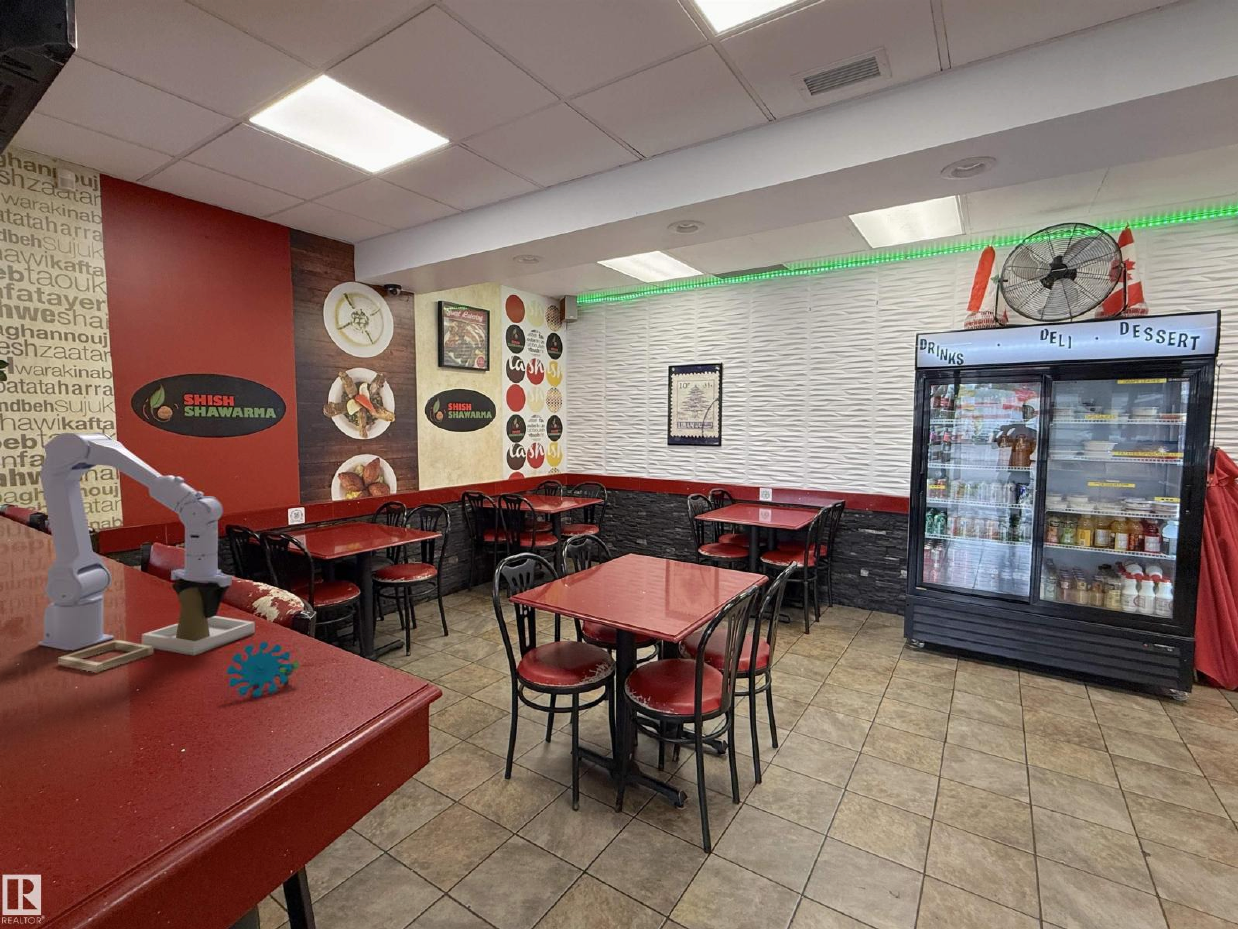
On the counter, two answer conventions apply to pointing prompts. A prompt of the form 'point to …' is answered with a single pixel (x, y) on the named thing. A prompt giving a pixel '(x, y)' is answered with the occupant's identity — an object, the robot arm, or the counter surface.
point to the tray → (219, 632)
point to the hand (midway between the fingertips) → (200, 615)
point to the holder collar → (134, 654)
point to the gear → (261, 669)
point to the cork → (192, 616)
